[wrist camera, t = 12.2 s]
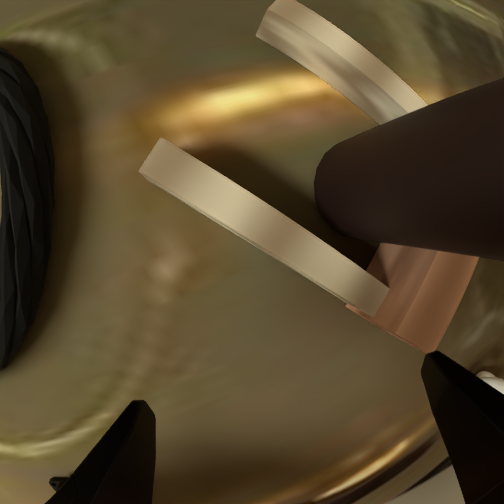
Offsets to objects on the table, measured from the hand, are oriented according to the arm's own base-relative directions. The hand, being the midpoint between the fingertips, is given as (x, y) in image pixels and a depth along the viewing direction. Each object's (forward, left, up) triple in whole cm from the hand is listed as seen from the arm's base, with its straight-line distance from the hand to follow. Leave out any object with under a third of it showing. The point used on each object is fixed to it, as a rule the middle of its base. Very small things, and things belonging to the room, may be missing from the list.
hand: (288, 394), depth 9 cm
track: (+7, -9, -11) cm, 16 cm away
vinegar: (+5, -10, -11) cm, 16 cm away
